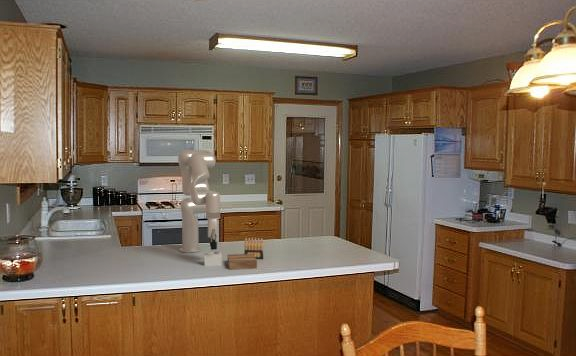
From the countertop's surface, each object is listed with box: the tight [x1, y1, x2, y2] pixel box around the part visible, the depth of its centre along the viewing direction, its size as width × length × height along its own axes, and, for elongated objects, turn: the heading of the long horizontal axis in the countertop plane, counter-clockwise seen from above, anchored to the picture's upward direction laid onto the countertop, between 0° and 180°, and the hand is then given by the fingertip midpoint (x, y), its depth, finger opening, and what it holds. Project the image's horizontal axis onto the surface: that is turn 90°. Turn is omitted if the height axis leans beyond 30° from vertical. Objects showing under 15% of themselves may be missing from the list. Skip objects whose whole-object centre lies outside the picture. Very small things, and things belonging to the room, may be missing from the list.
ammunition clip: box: [243, 237, 264, 260], centre depth 284 cm, size 11×2×12 cm, turn 86°
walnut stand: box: [227, 253, 258, 270], centre depth 269 cm, size 16×14×4 cm
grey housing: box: [203, 251, 223, 267], centre depth 270 cm, size 5×9×7 cm, turn 100°
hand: (213, 247), depth 269 cm, fingers open, 9 cm apart
